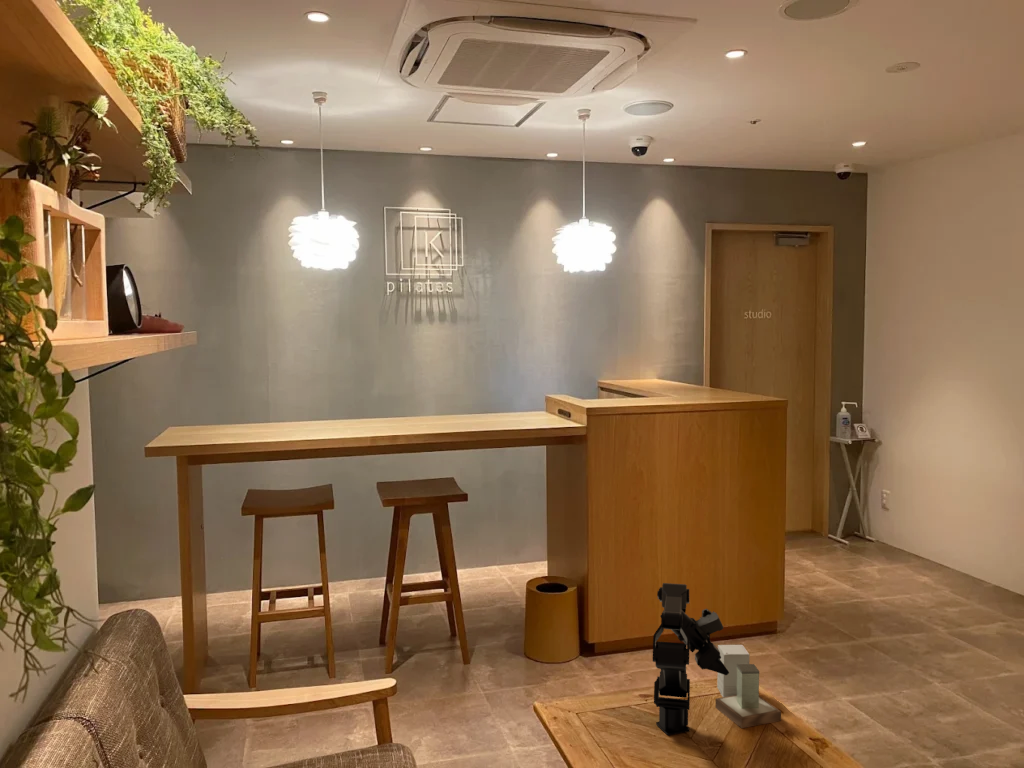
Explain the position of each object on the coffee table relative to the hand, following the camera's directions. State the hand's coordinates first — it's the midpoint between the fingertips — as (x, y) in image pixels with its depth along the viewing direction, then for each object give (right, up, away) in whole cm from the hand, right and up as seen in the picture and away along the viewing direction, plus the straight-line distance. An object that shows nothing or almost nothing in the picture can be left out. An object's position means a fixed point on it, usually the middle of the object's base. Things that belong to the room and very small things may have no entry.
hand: (723, 666), depth 217 cm
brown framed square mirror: (+7, -13, +2) cm, 15 cm away
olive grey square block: (+7, -11, +1) cm, 13 cm away
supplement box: (+6, -13, +14) cm, 20 cm away
